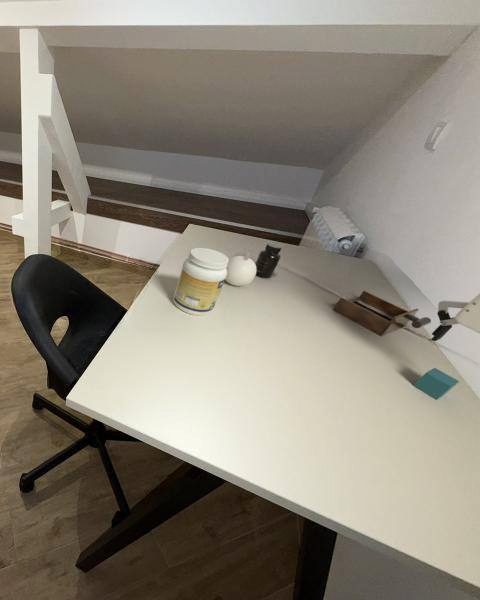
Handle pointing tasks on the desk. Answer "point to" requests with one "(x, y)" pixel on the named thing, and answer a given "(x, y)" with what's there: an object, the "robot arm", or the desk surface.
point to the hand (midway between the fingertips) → (462, 353)
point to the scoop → (378, 314)
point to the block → (435, 383)
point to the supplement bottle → (268, 260)
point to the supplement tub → (200, 281)
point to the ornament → (240, 270)
